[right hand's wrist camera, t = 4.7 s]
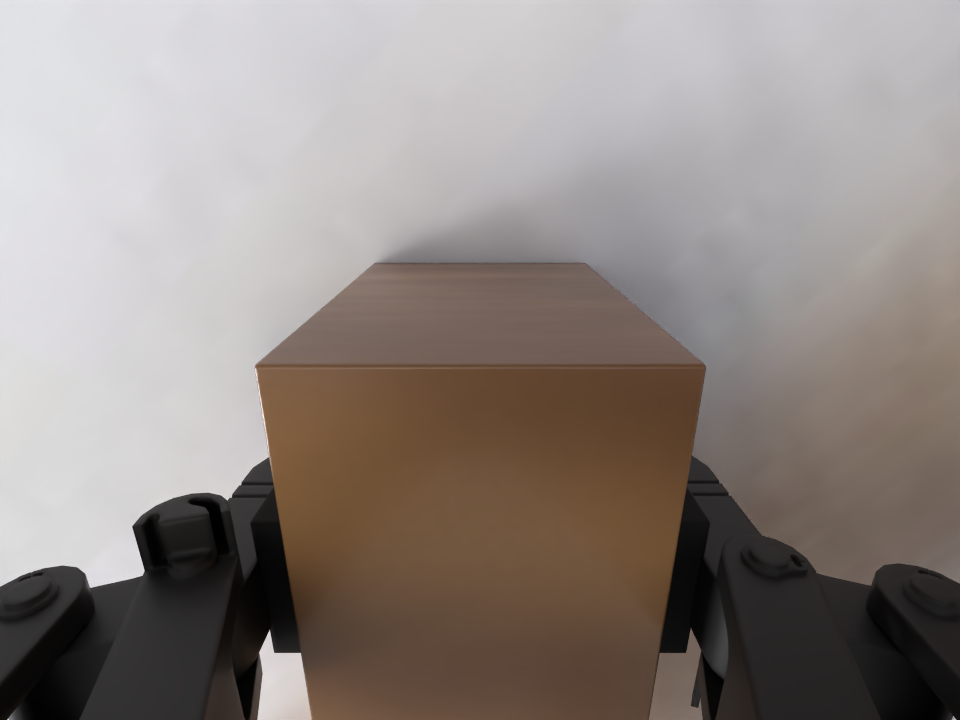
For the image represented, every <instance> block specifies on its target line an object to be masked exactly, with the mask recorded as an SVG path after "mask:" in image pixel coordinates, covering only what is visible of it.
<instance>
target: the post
mask: <svg viewBox="0 0 960 720" xmlns="http://www.w3.org/2000/svg"><path fill="white" fill-rule="evenodd" d="M705 370H706V367H705V364H704V363H702V362H701V361H700V360H699V359H698V358H696V357H695V356H694V355H693V354H692V353H691V352H689V351H688V350H687V349H686V348H685V347H684V346H682V345H681V344H680V343H679V342H678V341H676V340H675V339H674V338H673V337H672V336H671V335H669V334H668V333H667V332H666V331H665V330H664V329H662V328H661V327H660V326H659V325H658V324H656V323H655V322H654V321H653V320H652V319H651V318H649V317H648V316H647V315H646V314H645V313H643V312H642V311H641V310H640V309H639V308H638V307H636V306H635V305H634V304H633V303H632V302H631V301H629V300H628V299H627V298H626V297H625V296H623V295H622V294H621V293H620V292H619V291H618V290H616V289H615V288H614V287H613V286H612V285H611V284H609V283H608V282H607V281H606V280H605V279H603V278H602V277H601V276H600V275H599V274H598V273H596V272H595V271H594V270H593V269H592V268H590V267H589V266H588V265H587V264H585V263H375V264H373V265H372V266H371V267H370V268H369V269H367V270H366V271H365V272H364V273H363V274H362V275H360V276H359V277H358V278H357V279H356V280H354V281H353V282H352V283H351V284H350V285H349V286H347V287H346V288H345V289H344V290H343V291H342V292H340V293H339V294H338V295H337V296H336V297H335V298H333V299H332V300H331V301H330V302H329V303H328V304H326V305H325V306H324V307H323V308H322V309H320V310H319V311H318V312H317V313H316V314H315V315H313V316H312V317H311V318H310V319H309V320H308V321H306V322H305V323H304V324H303V325H302V326H301V327H299V328H298V329H297V330H296V331H295V332H293V333H292V334H291V335H290V336H289V337H288V338H286V339H285V340H284V341H283V342H282V343H281V344H279V345H278V346H277V347H276V348H275V349H274V350H272V351H271V352H270V353H269V354H268V355H267V356H265V357H264V358H263V359H262V360H261V361H259V362H258V363H257V364H256V365H255V373H256V379H257V385H258V391H259V397H260V404H261V410H262V416H263V422H264V428H265V434H266V440H267V447H268V453H269V459H270V465H271V471H272V477H273V483H274V490H275V496H276V502H277V508H278V514H279V520H280V527H281V533H282V539H283V545H284V551H285V557H286V563H287V570H288V576H289V582H290V588H291V594H292V600H293V606H294V613H295V619H296V625H297V631H298V637H299V643H300V649H301V656H302V662H303V668H304V674H305V680H306V686H307V692H308V699H309V705H310V711H311V717H312V720H649V714H650V708H651V702H652V696H653V690H654V683H655V677H656V671H657V665H658V659H659V653H660V647H661V640H662V634H663V628H664V622H665V616H666V610H667V604H668V597H669V591H670V585H671V579H672V573H673V567H674V561H675V555H676V548H677V542H678V536H679V530H680V524H681V518H682V512H683V505H684V499H685V493H686V487H687V481H688V475H689V469H690V462H691V456H692V450H693V444H694V438H695V432H696V426H697V420H698V413H699V407H700V401H701V395H702V389H703V383H704V377H705Z"/></svg>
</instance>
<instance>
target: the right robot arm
mask: <svg viewBox="0 0 960 720" xmlns="http://www.w3.org/2000/svg"><path fill="white" fill-rule="evenodd" d="M132 527H133V531H134V534H135V538H136V541H137V545H138V548H139V552H140V555H141V559H142V562H143V566H144V569H145V572H144V574H143V576H140V577H137V578H133V579H129V580H125V581H120V582H116V583H111V584H107V585H102V586H97V587H93V588H90V587H89V584H88V581H87V578H86V575H85V573H83V572H82V571H81V570H80V569H78V568H77V567H69V566H57V567H51V568H44V569H41V570H37V571H33V572H32V573H31V572H30V573H28V574H25V575H22V576H20V577H18V578H17V579H15V580H13V581H11V582H9V583H7V584H5V585H3V586H1V587H0V720H7V719H8V718H9V720H257V717H258V708H259V699H260V691H261V682H262V667H261V660H260V655H259V651H260V649H261V647H262V645H263V643H264V641H265V638H266V636H267V634H268V632H269V630H270V632H271V638H272V643H273V648H274V653H301V649H300V643H299V637H298V631H297V625H296V619H295V613H294V606H293V600H292V594H291V588H290V582H289V576H288V570H287V563H286V557H285V551H284V545H283V539H282V533H281V527H280V520H279V514H278V508H277V502H276V496H275V490H274V483H273V477H272V471H271V465H270V459H269V458H267V459H266V460H264V461H263V462H261V463H260V464H258V465H257V466H255V467H254V468H252V470H251V471H250V472H249V474H248V475H247V476H246V477H245V479H244V480H243V481H242V485H239V487H238V488H237V489H236V490H235V492H234V493H233V494H232V498H229V500H228V501H227V500H226V499H225V498H223V497H222V496H220V495H216V494H211V493H196V494H189V495H185V496H181V497H176V498H173V499H171V500H168V501H166V502H164V503H161V504H159V505H157V506H155V507H153V508H152V509H151V510H149V511H148V512H146V513H145V514H143V515H142V516H141V517H140V518H139V519H138V520H137V522H136V523H135V524H134V525H133V526H132ZM690 629H692V631H693V633H694V635H695V637H696V639H697V642H698V644H699V646H700V648H701V655H700V660H699V665H698V670H697V675H696V680H695V685H694V690H693V695H692V703H691V706H693V707H697V708H698V706H699V701H700V698H701V707H702V715H703V720H952V717H953V716H954V717H955V718H956V720H960V584H959V583H957V582H955V581H953V580H951V579H949V578H947V577H945V576H944V575H942V574H940V573H937V572H934V571H932V570H931V571H930V570H928V569H925V568H921V567H918V566H912V565H905V564H890V565H884V566H883V567H881V568H880V569H879V570H877V571H876V573H875V576H874V579H873V582H872V585H871V586H868V585H864V584H859V583H855V582H850V581H846V580H841V579H837V578H832V577H828V576H824V575H821V574H817V573H816V571H815V569H814V568H813V567H812V565H811V564H810V562H809V561H808V560H807V558H805V557H804V556H803V555H802V554H800V553H799V552H798V551H796V550H795V549H794V548H792V547H790V546H788V545H786V544H784V543H782V542H780V541H778V540H776V539H772V538H769V537H765V536H762V535H761V534H760V533H759V532H758V530H757V529H756V528H755V526H754V525H753V524H752V523H751V521H750V520H749V519H748V517H747V516H746V515H745V514H744V512H743V511H742V510H741V508H740V507H739V506H738V505H737V503H736V502H735V501H734V499H733V498H732V497H731V496H729V495H728V492H727V490H726V489H725V488H724V487H723V485H722V484H719V480H718V479H717V478H716V476H715V475H714V474H713V472H712V471H711V470H710V469H709V467H708V466H707V465H705V464H704V463H702V462H700V461H699V460H697V459H696V458H694V457H693V456H691V462H690V469H689V475H688V481H687V487H686V493H685V499H684V505H683V512H682V518H681V524H680V530H679V536H678V542H677V548H676V555H675V561H674V567H673V573H672V579H671V585H670V591H669V597H668V604H667V610H666V616H665V622H664V628H663V634H662V640H661V647H660V653H686V650H687V645H688V639H689V634H690Z"/></svg>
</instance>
